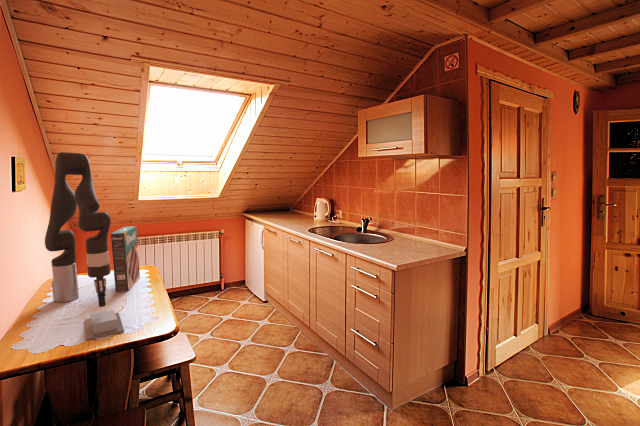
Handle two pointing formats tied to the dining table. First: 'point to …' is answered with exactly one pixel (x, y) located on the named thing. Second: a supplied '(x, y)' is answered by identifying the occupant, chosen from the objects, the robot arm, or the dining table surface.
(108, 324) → the slab
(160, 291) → the dining table surface
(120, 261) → the cake mix box
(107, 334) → the slate board
